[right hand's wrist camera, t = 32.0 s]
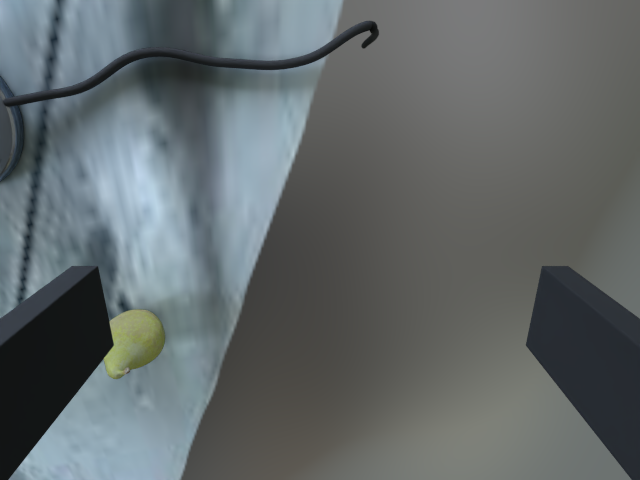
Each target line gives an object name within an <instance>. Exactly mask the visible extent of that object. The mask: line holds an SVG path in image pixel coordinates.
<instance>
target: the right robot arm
mask: <svg viewBox="0 0 640 480" xmlns="http://www.w3.org/2000/svg"><path fill="white" fill-rule="evenodd" d="M369 30H370V32H371V35H370V36H369V37H368V38H367V39H366V40H365V41H364V42H363V43H362V45H361V47H362V48H363V49H364V48H366V47H367V46H368V45H370V44H371V43H372V42H374V41H375V40H376V39H377V37H378V36H379V30H378V27H377V24H376V23H375V22H374V21H365V22H362V23H359V24H357V25H355V26H353V27H351V28H350V29H348V30H346V31H345V32H343V33H342V34H340V35H339V36H338V37H336V38H335V39H333V40H332V41H331V42H329V43H328V44H326V45H325V46H323V47H322V48H320V49H318V50H316V51H314V52H312V53H310V54H308V55H305V56H301V57H297V58H293V59H287V60H278V61H257V60H243V59H228V58H216V57H210V56H205V55H200V54H196V53H192V52H188V51H183V50H179V49H173V48H164V47H153V48H144V49H139V50H135V51H132V52H129V53H127V54H125V55H123V56H121V57H119V58H117V59H116V60H114V61H113V62H112V63H110V64H109V65H108V66H106V67H105V68H104V69H102V70H101V71H100V72H98V73H97V74H95V75H94V76H93V77H91V78H89V79H87V80H86V81H84V82H81V83H79V84H76V85H73V86H70V87H66V88H61V89H54V90H47V91H41V92H36V93H31V94H26V95H21V96H16V97H14V96H13V94H12V92H11V91H10V89H9V87H8V86H7V84H6V83H5V81H4V80H3V79H2V77H1V76H0V181H2V180H3V179H4V178H6V177H7V176H8V175H9V174H10V173H11V172H12V170H13V169H14V168H15V166H16V164H17V163H18V161H19V158H20V156H21V153H22V148H23V141H24V130H23V122H22V117H21V114H20V110H19V108H18V105H22V104H27V103H32V102H37V101H42V100H48V99H54V98H61V97H67V96H72V95H76V94H79V93H82V92H84V91H87V90H89V89H91V88H93V87H95V86H97V85H98V84H100V83H101V82H103V81H104V80H106V79H107V78H108V77H110V76H111V75H112V74H114V73H115V72H116V71H118V70H119V69H121V68H122V67H124V66H125V65H127V64H129V63H131V62H133V61H136V60H139V59H143V58H147V57H158V56H160V57H172V58H178V59H182V60H187V61H191V62H195V63H199V64H203V65H209V66H215V67H226V68H242V69H256V70H280V69H288V68H294V67H299V66H303V65H306V64H309V63H312V62H314V61H317V60H319V59H321V58H322V57H324V56H326V55H327V54H329V53H331V52H332V51H333V50H335V49H336V48H338V47H339V46H341V45H342V44H344V43H345V42H346V41H348V40H349V39H351V38H353V37H354V36H356V35H358V34H360V33H362V32H365V31H369ZM113 346H114V342H113V337H112V332H111V328H110V323H109V318H108V313H107V308H106V303H105V298H104V294H103V289H102V284H101V279H100V274H99V269H98V266H72V267H70V268H69V269H67V270H66V271H65V272H63V273H62V274H61V275H59V276H58V277H57V278H55V279H54V280H52V281H51V282H50V283H48V284H47V285H46V286H44V287H43V288H42V289H40V290H39V291H37V292H36V293H35V294H33V295H32V296H31V297H29V298H28V299H27V300H25V301H24V302H22V303H21V304H20V305H18V306H17V307H16V308H14V309H13V310H12V311H10V312H9V313H7V314H6V315H5V316H3V317H2V318H1V319H0V480H8V479H9V478H10V477H11V475H12V474H13V473H14V472H15V470H16V469H17V468H18V467H19V465H20V464H21V463H22V461H23V460H24V459H25V458H26V456H27V455H28V454H29V453H30V451H31V450H32V449H33V448H34V446H35V445H36V444H37V442H38V441H39V440H40V439H41V437H42V436H43V435H44V434H45V432H46V431H47V430H48V428H49V427H50V426H51V425H52V423H53V422H54V421H55V420H56V418H57V417H58V416H59V415H60V413H61V412H62V411H63V409H64V408H65V407H66V406H67V404H68V403H69V402H70V401H71V399H72V398H73V397H74V396H75V394H76V393H77V392H78V390H79V389H80V388H81V387H82V385H83V384H84V383H85V382H86V380H87V379H88V378H89V376H90V375H91V374H92V373H93V371H94V370H95V369H96V368H97V366H98V365H99V364H100V363H101V361H102V360H103V359H104V357H105V356H106V355H107V354H108V352H109V351H110V350H111V349H112V347H113ZM526 346H527V347H528V348H529V350H530V351H531V352H532V354H533V355H534V356H535V357H536V359H537V360H538V361H539V363H540V364H541V365H542V366H543V368H544V369H545V370H546V371H547V373H548V374H549V375H550V376H551V378H552V379H553V380H554V382H555V383H556V384H557V385H558V386H559V388H560V389H561V390H562V392H563V393H564V394H565V396H566V397H567V398H568V399H569V401H570V402H571V403H572V404H573V406H574V407H575V408H576V409H577V411H578V412H579V413H580V415H581V416H582V417H583V418H584V420H585V421H586V422H587V423H588V425H589V426H590V427H591V428H592V430H593V431H594V432H595V434H596V435H597V436H598V437H599V439H600V440H601V441H602V442H603V444H604V445H605V446H606V448H607V449H608V450H609V451H610V453H611V454H612V455H613V456H614V458H615V459H616V460H617V461H618V463H619V464H620V465H621V467H622V468H623V469H624V470H625V472H626V473H627V474H628V475H629V477H630V478H631V479H632V480H640V319H639V318H638V317H637V316H635V315H634V314H633V313H631V312H630V311H628V310H627V309H626V308H624V307H623V306H622V305H620V304H619V303H618V302H616V301H615V300H613V299H612V298H611V297H609V296H608V295H607V294H605V293H604V292H602V291H601V290H600V289H598V288H597V287H596V286H594V285H593V284H592V283H590V282H589V281H588V280H586V279H585V278H583V277H582V276H581V275H579V274H578V273H577V272H575V271H574V270H572V269H571V268H570V267H568V266H542V269H541V274H540V279H539V284H538V289H537V294H536V298H535V303H534V308H533V313H532V318H531V323H530V328H529V332H528V337H527V342H526Z"/></svg>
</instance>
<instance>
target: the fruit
mask: <svg viewBox="0 0 640 480" xmlns="http://www.w3.org/2000/svg"><path fill="white" fill-rule="evenodd" d="M109 323H110V328H111V332H112V337H113V342H114V346H113V347H112V349H111V350H110V351H109V352H108V354H107V355H106V356H105V357H104V362H105V366H106V371H107V373H108V375H109V376H110V377H111V378H113V379H119V378H121V377H122V376H123V375H125V374H127V373H129V372H130V370H131V369H136V368H139V367H142V366H144V365H146V364H148V363H150V362H151V361H152V360H154V359H155V358H156V357H157V356H158V355H159V354H160V352H161V351H162V349H163V346H164V343H165V333H164V329H163V326H162V323H161V321H160V320H159V319H158V317H157V316H155V315H154V314H153V313H152V312H150V311H147V310H142V309H136V310H129V311H126V312H124V313H121V314H120V315H118V316H116V317H115V318H113V319H112V320H111V321H110V322H109Z"/></svg>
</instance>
